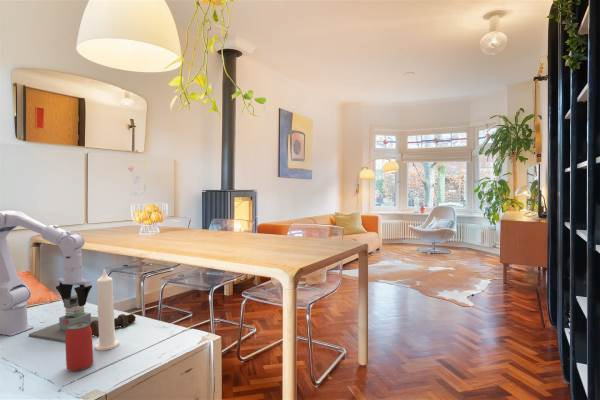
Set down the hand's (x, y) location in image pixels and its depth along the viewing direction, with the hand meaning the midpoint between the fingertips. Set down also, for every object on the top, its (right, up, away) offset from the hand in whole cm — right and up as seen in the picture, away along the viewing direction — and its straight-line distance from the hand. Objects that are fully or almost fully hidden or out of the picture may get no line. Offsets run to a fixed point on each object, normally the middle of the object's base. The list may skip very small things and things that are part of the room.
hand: (74, 304), depth 134 cm
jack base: (0, -9, 0) cm, 9 cm away
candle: (+20, -9, -15) cm, 27 cm away
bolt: (+15, -9, -1) cm, 18 cm away
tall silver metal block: (0, -5, 0) cm, 5 cm away
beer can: (+19, -10, -29) cm, 36 cm away
